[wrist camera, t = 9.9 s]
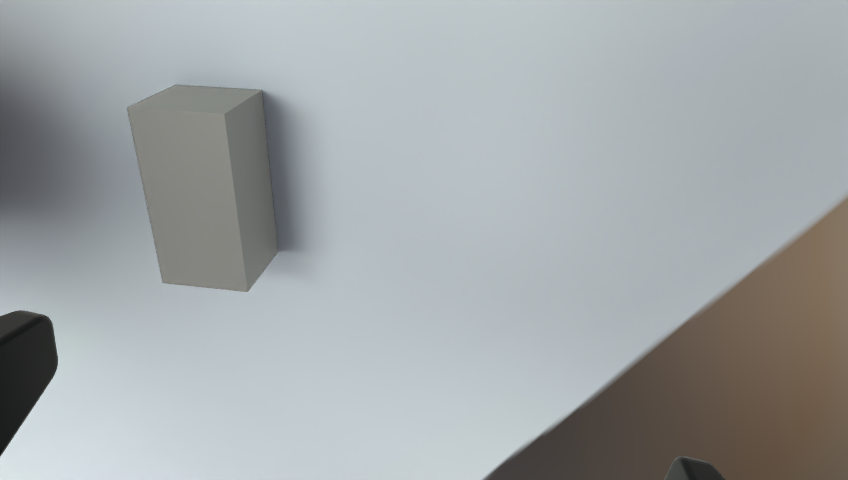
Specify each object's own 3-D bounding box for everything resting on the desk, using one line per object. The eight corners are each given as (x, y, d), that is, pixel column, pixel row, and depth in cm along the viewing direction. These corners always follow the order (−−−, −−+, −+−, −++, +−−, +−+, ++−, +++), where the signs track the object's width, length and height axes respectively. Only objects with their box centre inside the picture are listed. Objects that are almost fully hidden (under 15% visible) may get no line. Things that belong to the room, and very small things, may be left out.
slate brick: (280, 249, 23) (247, 291, 21) (204, 242, 24) (162, 283, 21) (263, 88, 21) (223, 114, 18) (178, 83, 21) (126, 107, 18)
